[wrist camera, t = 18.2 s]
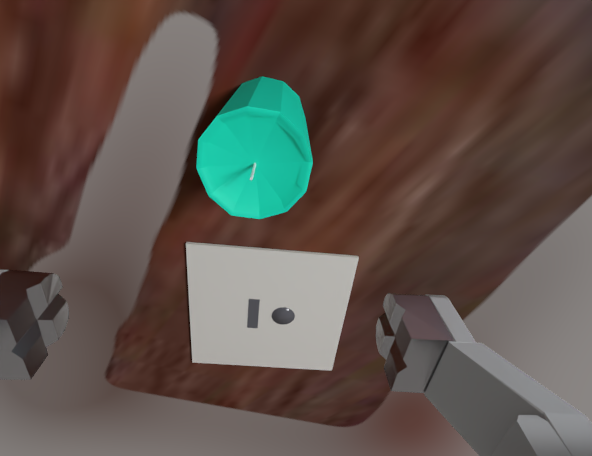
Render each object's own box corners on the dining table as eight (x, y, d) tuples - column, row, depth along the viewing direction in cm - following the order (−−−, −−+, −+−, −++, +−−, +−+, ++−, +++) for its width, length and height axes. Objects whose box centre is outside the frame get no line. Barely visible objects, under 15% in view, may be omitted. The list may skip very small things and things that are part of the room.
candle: (283, 169, 29) (280, 250, 19) (214, 135, 28) (169, 203, 17) (319, 101, 26) (339, 151, 16) (245, 60, 25) (214, 87, 15)
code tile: (192, 360, 40) (192, 362, 40) (186, 241, 32) (185, 243, 32) (331, 368, 41) (331, 370, 41) (358, 255, 33) (358, 257, 33)
